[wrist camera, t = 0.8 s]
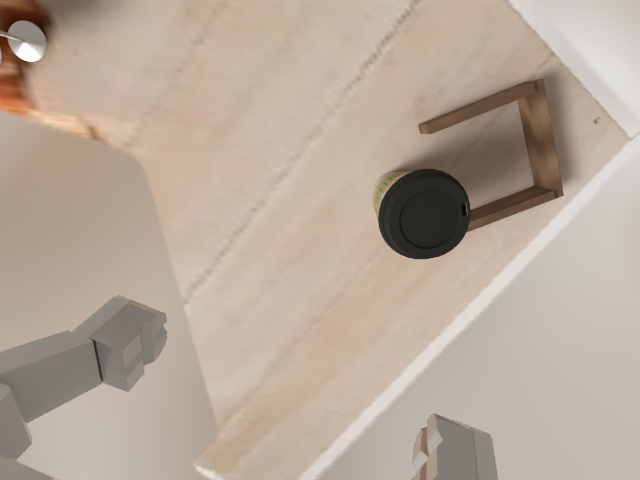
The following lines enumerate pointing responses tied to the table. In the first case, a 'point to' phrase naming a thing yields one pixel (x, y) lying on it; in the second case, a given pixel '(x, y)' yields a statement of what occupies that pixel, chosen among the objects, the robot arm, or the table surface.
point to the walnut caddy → (537, 144)
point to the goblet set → (26, 41)
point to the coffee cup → (421, 212)
